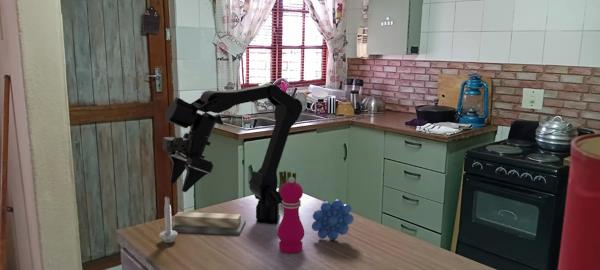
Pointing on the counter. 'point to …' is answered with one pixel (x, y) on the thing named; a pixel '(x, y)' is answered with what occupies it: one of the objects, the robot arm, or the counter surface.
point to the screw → (168, 224)
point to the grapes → (332, 219)
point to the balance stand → (208, 223)
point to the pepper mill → (291, 218)
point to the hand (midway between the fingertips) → (177, 187)
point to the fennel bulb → (285, 178)
